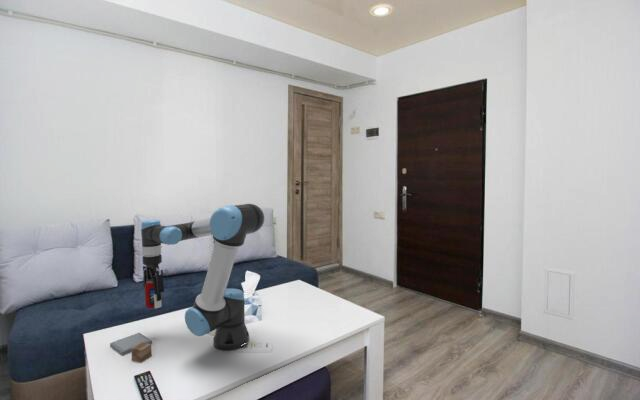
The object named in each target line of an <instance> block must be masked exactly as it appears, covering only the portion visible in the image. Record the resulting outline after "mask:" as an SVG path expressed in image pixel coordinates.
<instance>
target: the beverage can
mask: <svg viewBox="0 0 640 400" xmlns="http://www.w3.org/2000/svg"><path fill="white" fill-rule="evenodd" d="M154 293H155V289H154V284H153V279H150V280H147V281H146V284H145V287H144V299H145V300H144V301H145V302H144V303H145V308H148V309H150V310H151V309H155V304H154ZM161 304H162V305H163V292H162V293H161Z"/></svg>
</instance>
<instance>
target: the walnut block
mask: <svg viewBox="0 0 640 400" xmlns="http://www.w3.org/2000/svg"><path fill="white" fill-rule="evenodd" d="M152 351H153V350H152V344H148V343H143V342H141V343H139V344H138V345H136V346H134V347H133V348H131V352H130V353H131V354H130V355H131V361H134V362H138V363H143V362H145V361H146V360H147V359H149V358H150V357H152V356H153V355H152V353H153V352H152Z"/></svg>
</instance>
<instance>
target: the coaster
mask: <svg viewBox="0 0 640 400" xmlns="http://www.w3.org/2000/svg"><path fill="white" fill-rule="evenodd" d="M141 342H143V343H148V344H151V345H153V340H152V339H151V338H149V337H148V336H146V335H144V334H142V333H141V332H137V333H135V334H132V335H130V336H126V337H123V338H121V339H118V340H115V341H112V342H110V343H109V345H110V346H109V347H110V348H111V349H113V350H115V352H116V353H118V354H119V355H121V356H125V355H128V354H130V353H131V348H133V347H134V346H136V345H138V344H139V343H141Z"/></svg>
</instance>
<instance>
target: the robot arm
mask: <svg viewBox="0 0 640 400" xmlns="http://www.w3.org/2000/svg"><path fill="white" fill-rule="evenodd" d="M264 222H265V213H264V211H263V209H261V207H260V206H259V205H256V204H254V203H243V204H238V205H236V204H235V205H233V204H231V205H226V206H223V207H222V206H221V207H219V208H217V209H216V210H215V211H214V212H213V213H212V214H211V216H210V217H209V218H203V219H200V220H194V221H190V222H185V223H178V224H172V225H162V223H161V221H160V219H145V220H143V221H142V222H141V228H140V231H141V251H142V252H141V253H142V271H143V273H142V275H143V279H142V280H143V282H142V286H143V288H145V284H146V281H147V280H150V279H153V284H154V289H155V293H154V304H155V308H154V309H158V308H162V305H163V303H162V304H161V293H162V294H163V293H164V292H165V290H164V289H165V287H164V286H165V285H164V277H163V276H164V275H163V274H164V271H163V269H160V266H159V265H160V264H161V263H162V262H163V261H162V259H163V257H162V247H163V246H162V244H163V245H168V246H170V245H177V244H179V242H182V241H187V240H191V239H192V240H193V239H198V238H202V237H208V236H212V240H214V241H213V242H214V243H215V244H214V247H213V251H212V254H211V257H210V262H209V264H208V268H207V273H206V276H205V279H204V282H203V287H202V290H201V293H199V294H198V295H197V296H196V298H195V301H194V304H193V306H192V307H189V308H188V309H187V310H185V314H184V321H185V324H186V327H187V329H188V330H189V331H190V333H191V334H193V335H194V336H197V337H203V336H205V335H208V334H210V333H211V332H213V331H214V332H215V334H214V336H213V339H212V340H213V341H212V343H213V347H214V348H216V349H218V350H219V351H220V350H222V351H233V350H237V349H240V347H241V345H242V344H244V343H247V342H248V343H249V341H250V335H249V330H248V327H247V325H246V321H245V319H246V318H245V317H246V315H245V294H244V291H243V290H242V289H238V288H232V287H231V288H227V287H228V284H229V279H230V277H231V275H232V274H231V273H232V270H233V268H234V267H233V266H234V263H235V259H236V258H237V257H236V256H237V253H238V250H239V248H240V247H242V246H243V245H244V244H245V239H246V236H247V235H250V234H254V233H255V232H258V231H259V230H261V228H262V227H263V225H264ZM248 343H247V344H248ZM241 348H242V347H241Z"/></svg>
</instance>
